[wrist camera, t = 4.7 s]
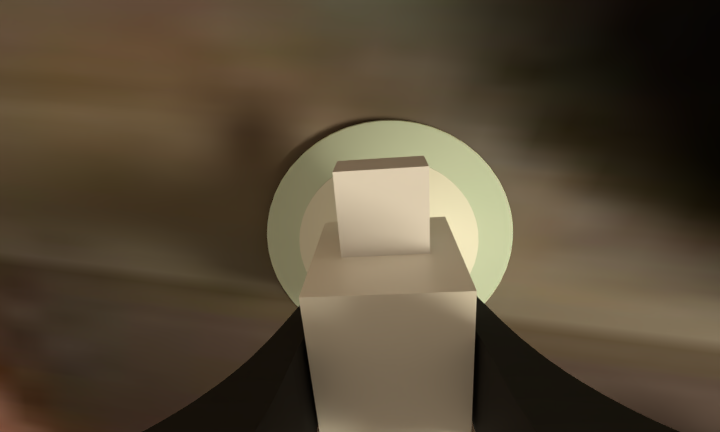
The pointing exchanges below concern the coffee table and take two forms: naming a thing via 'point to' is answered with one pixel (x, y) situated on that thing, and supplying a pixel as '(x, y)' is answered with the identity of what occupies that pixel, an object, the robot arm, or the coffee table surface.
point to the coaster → (446, 196)
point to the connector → (389, 307)
